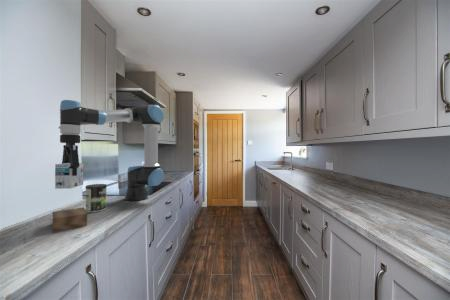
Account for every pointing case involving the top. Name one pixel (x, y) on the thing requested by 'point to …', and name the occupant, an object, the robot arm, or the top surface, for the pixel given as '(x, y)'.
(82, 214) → the block
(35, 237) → the top surface
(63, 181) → the light bulb box
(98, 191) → the coffee can
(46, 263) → the top surface
